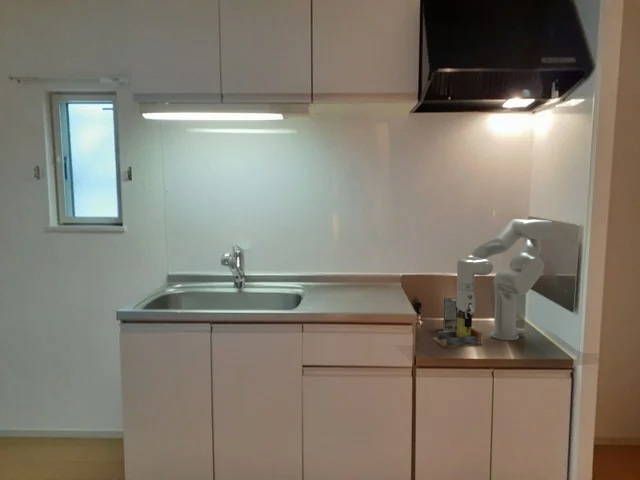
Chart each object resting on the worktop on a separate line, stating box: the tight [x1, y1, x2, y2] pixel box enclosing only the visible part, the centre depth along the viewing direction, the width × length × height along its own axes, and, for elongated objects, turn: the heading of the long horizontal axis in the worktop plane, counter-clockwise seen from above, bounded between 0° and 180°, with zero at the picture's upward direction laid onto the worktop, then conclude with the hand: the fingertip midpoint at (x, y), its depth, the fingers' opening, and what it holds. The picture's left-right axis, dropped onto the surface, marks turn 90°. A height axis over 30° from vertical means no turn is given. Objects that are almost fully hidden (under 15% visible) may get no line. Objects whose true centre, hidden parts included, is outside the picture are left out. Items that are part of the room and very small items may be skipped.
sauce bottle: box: [457, 309, 471, 337], centre depth 217 cm, size 6×6×20 cm
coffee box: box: [442, 297, 457, 331], centre depth 233 cm, size 9×6×16 cm
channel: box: [432, 326, 483, 349], centre depth 218 cm, size 18×12×6 cm, turn 99°
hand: (464, 324), depth 217 cm, fingers open, 6 cm apart
